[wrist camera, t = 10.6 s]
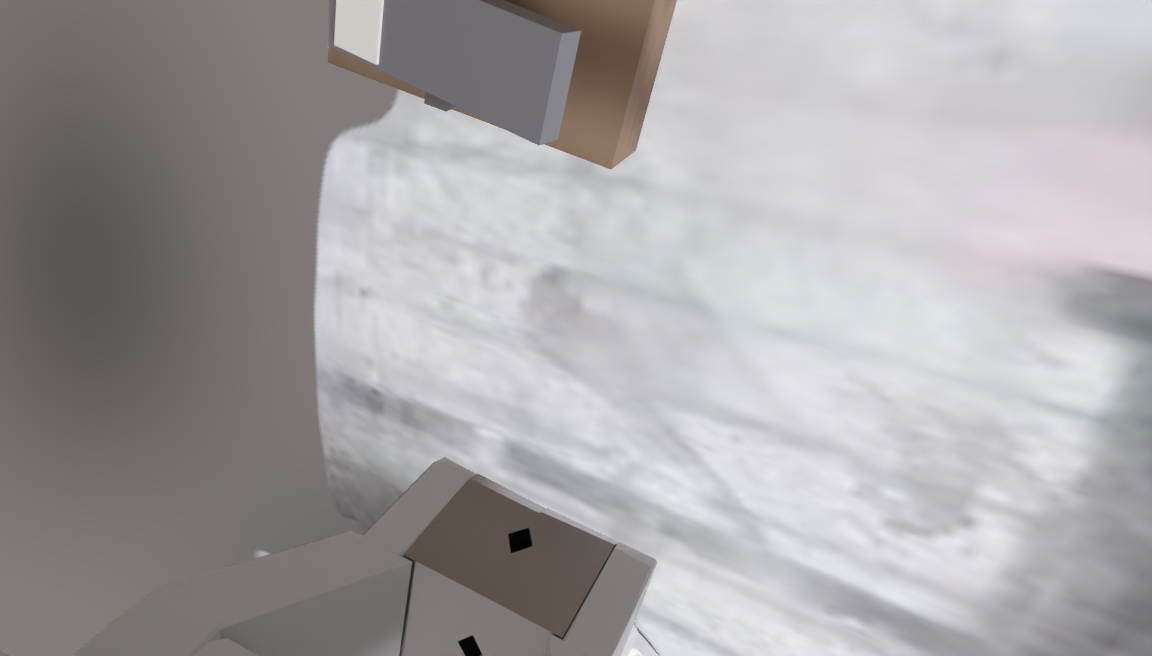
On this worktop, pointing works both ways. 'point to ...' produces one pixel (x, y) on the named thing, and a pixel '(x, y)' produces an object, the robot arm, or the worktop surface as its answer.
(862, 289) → the worktop surface
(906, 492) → the worktop surface
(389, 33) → the rocker
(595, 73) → the switch unit
